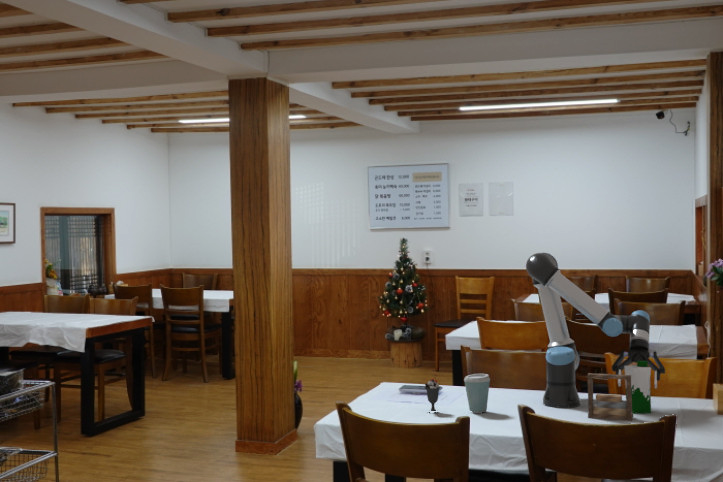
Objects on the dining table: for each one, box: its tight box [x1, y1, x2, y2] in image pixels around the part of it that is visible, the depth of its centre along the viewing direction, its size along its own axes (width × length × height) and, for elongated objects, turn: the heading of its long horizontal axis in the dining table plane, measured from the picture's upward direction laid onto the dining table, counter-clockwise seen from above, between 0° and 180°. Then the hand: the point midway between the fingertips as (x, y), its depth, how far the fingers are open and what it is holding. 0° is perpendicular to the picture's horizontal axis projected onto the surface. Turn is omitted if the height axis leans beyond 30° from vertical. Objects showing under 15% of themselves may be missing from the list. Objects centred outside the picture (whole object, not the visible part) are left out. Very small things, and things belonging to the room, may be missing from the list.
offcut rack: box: [587, 372, 634, 422], centre depth 295 cm, size 16×6×17 cm, turn 66°
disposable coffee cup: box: [463, 373, 491, 414], centre depth 311 cm, size 11×11×15 cm
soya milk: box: [624, 361, 652, 415], centre depth 305 cm, size 9×9×20 cm
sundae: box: [424, 374, 441, 411], centre depth 312 cm, size 7×7×15 cm
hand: (637, 385), depth 303 cm, fingers open, 13 cm apart
